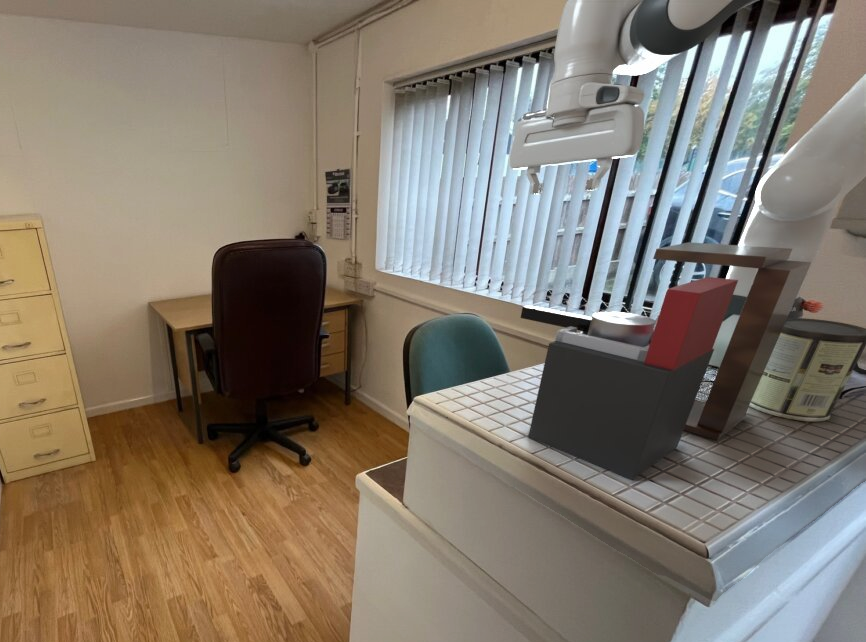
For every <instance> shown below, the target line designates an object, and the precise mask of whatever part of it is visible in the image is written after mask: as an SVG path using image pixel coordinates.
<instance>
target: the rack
mask: <svg viewBox="0 0 866 642" xmlns="http://www.w3.org/2000/svg"><path fill="white" fill-rule="evenodd" d="M791 251H792V249H789V248H772V247H756V246H740V245H739V244H738V245H737V244H721V243H704V242H702V243H701V242H684V243H683V242H682V243H679V244H674V245H668V246H663V247H659V248H655V251H654V255H653V258H652V259H653V260H659V261H660V260H661V261H670V262H671V261H672V262H681V263H693V264H703V265H704V264H705V265H715V266H726V267H727V266H728V267H730V266H737V267H748V268H758V271H757V273H756V276H755V278H754V281H753V283H752V286H751V288H750V291H749V293H748V296H747V299H746V301H745V304H744V306H743V309H742V311H741V314H740V316H739V319H738V322H737V324H736V327H735V329H734V332H733V334H732V337H731V339H730V342H729V344H728V347H727V350H726V352H725V355H724V357H723V360H722V362H721V365H720V367H718V369H717V372H716V375H715V378H714V380H713V383H712V384H711V385H712V386H711V388H710V389H709V393H708V395H707V398H706V400H705V401H702V400H700V399H697V398H696V399H695V401H694V404H693V407H692V409H691V412H690V415H689V417H688V420H687V422H686V425H685V428H684V430H683V431H686V432H688V433H692V434H696V435H698V436H702V437H704V438H707V439H711V440H713V441H718V440H720V439H721V438H723V437H724V436H725V435H726V434H728V432H730V431H731V430H733V428H736V426H738V425H739V424H741V422H742V421H744V420H745V419H746V416H747V415H748V413H747V411H748V409H749V407H750V406H749V405H750V402H751V400H752V398H753V395H754V393H755V391H756V388H757V386H758V384H759V382H760V379H761V377H762V375H763V372H764V370H765V368H766V366H767V363H768V361H769V359H770V356H771V354H772V352H773V350H774V347H775V345H776V343H777V340H778V338H779V336H780V333H781V331H782V329H783V327H784V324H785V322H786V320H787V317H788V315H789V313H790V311H791V308H792V306H793V304H794V301H795V299H796V297H797V294H798V292H799V290H800V288H801V285H802V283H803V281H804V278H805V276H806V274H807V272H808V269H809V267H810V265H811V262H801V261H788V259H789V256H790V254H791Z"/></svg>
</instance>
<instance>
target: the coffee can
mask: <svg viewBox="0 0 866 642" xmlns="http://www.w3.org/2000/svg"><path fill="white" fill-rule="evenodd" d="M865 348H866V328H865V327H862V326H859V325H854V324H850V323H845V322H839V321H834V320H825V319H815V318H804V317H803V318H787V320H786V322H785V324H784V327H783V329H782V331H781V333H780V336H779V338H778V340H777V343H776V345H775V347H774V350H773V352H772V354H771V356H770V359H769V361H768V363H767V366H766V368H765V370H764V372H763V375H762V377H761V379H760V382H759V384H758V386H757V388H756V391H755V393H754V395H753V398H752V400H751V402H750V405H749V407H750V408H752V409H754V410H756V411H759V412H761V413H764V414H768V415H772V416H775V417H779V418H783V419H787V420H793V421H800V422H812V423H813V422H825V421H828V420H829V419H830V418H831V414H832V412H833V410H834V408H835V407H836V405H837V402H838V401H839V399H840V397H841V395H842V393H843V391H844V390H845V387H846V385H847V383H848V381H849V379H850V377H851V375H852V374H853V372H854V370H853V369H854V368H855V366H856V364H857V363H859V362H858V361H860V358H861V356H862V353H864V350H865Z"/></svg>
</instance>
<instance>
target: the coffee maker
mask: <svg viewBox="0 0 866 642" xmlns="http://www.w3.org/2000/svg"><path fill="white" fill-rule="evenodd" d="M737 282H738V280H733V279H726V278H724V277H723V278H722V277H712V276H706V277H702V278H699V279H696V280H692V281H689V282H687V283H683V284H679V285H677V286H673V287H669V288H667V289H666V292H665V295H664V299H663V303H662V305H661V307H660V311H659V315H658V316H659V317H658V316H657V317H658V320H657V324H656V327H655V326H654V328H655V329H654V330H653V333H652V336H651V339H650V342H649V345H648V346H645V347H640V346H635V345H631V344H626V343H621V342H617V341H612V340H608V339H603V338H598V337H594V336H589V335H587V334H588V332H584V331H580V332H578V330H577V328H576V327H571V326H570V327H567V328H565V327H563V328H561V329H558V330H557V331H556V334H555V339H554V340H553V341H550V342H549V343H548V347H547V350H546V356H545V360H544V364H543V369H542V372H541V373H542V374H541V378H540V382H539V386H538V391H537V395H536V400H535V405H534V408H533V412H532V413H533V414H532V417H531V422H530V426H529V431H528V436H527V437H528V438H530V439H533V440H535V441H538V442H540V443H542V444H544V445H547V446H549V447H552V448H554V449H557V450H559V451H562V452H564V453H566V454H569V455H571V456H573V457H576V458H578V459H581V460H583V461H585V462H588V463H590V464H592V465H594V466H597V467H600V468H602V469H604V470H606V471H609V472H611V473H613V474H616V475H618V476H621V477H623V478H626V479H628V480H631V481H633V480H634V479H636V478H638V477H639V476H640V475H642V474H643V473H645V472H646V471H647V470H648V469H650V468H651V467H653V466H654V465H655V464H656V463H658V462H660V461H662V459H664V458H665V457H666V456H668V455H669V454H670V453H672V452H673V451H674V450H676V449H677V448H678V446H679V443H680V441H681V438H682V435H683V433H684V431H685V430H684V428H685V425H686V422H687V420H688V417H689V415H690V412H691V409H692V407H693V404H694V401H695V399H696V400H697V396H698V393H699V391H700V389H701V385H702V383H703V381H704V377H705V375H706V372H707V370H708V368H709V366H710V365H709V362H710V359H711V357H712V354H713V351H714V349H712V348H713V346H714V343H715V340H716V338H717V335H718V332H719V330H720V327H721V324H722V322H723V319H724V317H725V314H726V311H727V309H728V306H729V303H730V301H731V298H732V295H733V293H734V290H735V287H736V285H737Z"/></svg>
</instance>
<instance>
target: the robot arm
mask: <svg viewBox="0 0 866 642" xmlns="http://www.w3.org/2000/svg"><path fill="white" fill-rule="evenodd" d="M758 1H759V0H567V1H566V2H565V4H564V6H563V9H562V12H561V16H560V19H559V23H558V27H557V28H558V29H557V34H556V40H555V46H554V53H553V60H554V71H553V75H552V78H551V80H550V83H549V90H548V96H547V104H546V108H544V109H538V110H536V111H530V112H529V111H528V112H526V113H524V114H523V116H520V117H519V119H518V120H517V121H516V122H515V124H514V129H513V139H512V143H511V147H510V151H509V157H508V166H509V167H510V169H511V170H526V177H527V179H528V181H529V184H530V191H529V194H530V195H542V194H543V192H544V188H545V187H544V186H545V183H544V182H541V183H540V179H539V177H538V175H539V174H541V168H544V167H550V166H560V165H569V164H577V163H586V162H593V161H596V167H597V168H598V169H597V171H596V172H595V173H594V175H593V176H592V178H587V179H586V185H585V191H598V190H599V189H600V188H601V182H602V179H603V178H604V176H606V174H607V173H608V171H610V169H611V168H612V163H613V159H619V158H620V159H622V158H629V157H634V156H635V155H636V154H637V153H638V152H639V150H640V149H641V147H642V143H643V137H644V130H645V112H644V110H643V109H642V107H641V106H640V105H641V104H642V103H643V101H644V97H645V91H644V90H643V89H641V88H639V87H636V86H631V85H625V84H621V83H613V76H614V75H619V76H620V75H621V76H639V75H643V74H647V73H650V72H652V71H654V70H656V69H657V68H660V67H661V66H663V65H664V64H666V63H668V62H669V61H671V60H672V59H674V58H676V57H677V56H679V55H681V54H682V53H685V52H687V51H689V50H691V49H693V48H695V47H696V46H698V45H699V44H701V43H702V42H704V41H705V40H706V39H707V38H709V37H710V36H711V35H713V33H715V31H716V30H718V29H719V28H720V27H721V26H722V25H723V24H724V23H725V22H726V21H727V20H728V19H729V18H730V17H731V16H732V15H733V14H735V13H736V12H738V11H740V10H742V9H743V8H745V7H747V6H750V5H751V4H754V3H756V2H758ZM865 178H866V73H865V74H863V75H862V77H861V78H860V79H858V81H856V82H855V83H854V85H853V86H852V87H851V88H850V89H849V90H848V91H847V92H846V93H845V94H844V95H843V96H842V97H841V98H840V99H838V101H837V102H836V103H835V104H834V105H833V106H832V107H831V108H830V109H829V110H828V111H827V112H826V113H825V114H824V115H823V116H822V117H821V118H820V119H819V120H818V121H817V122H816V123H815V124H814V125H813V126H812V127H810V129H809V130H807V132H806V133H805V134H804V135H802V136H801V137H800V139H798V141H796V142H795V143H794V145H793V146H792V147H790V149H788V151H787V152H786V153H784V155H783V156H781V158H780V159H778V161H777V162H776V163H775V164H774V165H773V166H772V167H771V168H770V169H769V170H768V171H766V173H765V174H764V175H763V176H762V177H761V179H760V180H759V182H758V184H757V186H756V189H755V194H754V201H755V203H754V206H753V209H752V211H751V213H750V216H749V218H748V221H747V223H746V226H745V228H744V231H743V233H742V235H741V238H740V241H739V242H738V245H740V246H756V247H772V248H789V249H792V251H791V254H790V256H789V259H788V261H801V262H811V265H810V267H809V269H808V272H807V274H806V276H805V278H804V281H803V283H802V285H801V288H800V290H799V292H798V294H797V297H796V299H795V301H794V304H793V306H792V308H791V311H790V313H789V315H788V317H787V318H804V311H806V312H809V313H812V314H816V313H819V311H822V309H823V308H824V305H823V303H822V302H820V301H819V302H818V301H815V300H813V299H812V300H806V299H804V298H802V297H800V296H801V294H802V291H803V289H804V287H805V284H806V282H807V280H808V277H809V275H810V273H811V271H812V269H813V267H814V264H815V261H816V260H817V257H818V255H819V252H820V250H821V247H822V245H823V242H824V241H825V238H826V235H827V233H828V230H829V227H830V225H831V223H832V220H833V218H834V216H835V214H836V211H837V209H838V206H839V204H840V202H841V200H842V199H843V198H844V197H845V196H846V195H847V194H848V193H850V191H852V190H853V189H854V188H855V187H856V186H857V185H859V183H861V182H862V181H863V180H864V179H865ZM757 271H758V268H748V267H737V266H729V269H728V271H727V274H726V277H725V279H733V280H738V282H737V285H736V287H735V290H734V293H733V295H732V298H731V301H730V303H729V306H728V309H727V311H726V314H725V317H724V319H723V322H722V324H721V327H720V330H719V332H718V335H717V338H716V340H715V343H714V346H713V348H712V349H714V351H713V354H712V357H711V359H710V362H709V365H708V366H713V367H717V368H719V367H720V365H721V362H722V360H723V357H724V355H725V352H726V350H727V347H728V344H729V342H730V339H731V337H732V334H733V332H734V329H735V327H736V324H737V322H738V319H739V316H740V314H741V311H742V309H743V306H744V304H745V301H746V299H747V296H748V293H749V291H750V288H751V286H752V283H753V281H754V278H755V276H756V273H757ZM853 372H856V373H857V374H861V375H866V369H864V368H862V367H859V362H857V364H856V366H855V368H854V369H853Z"/></svg>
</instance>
